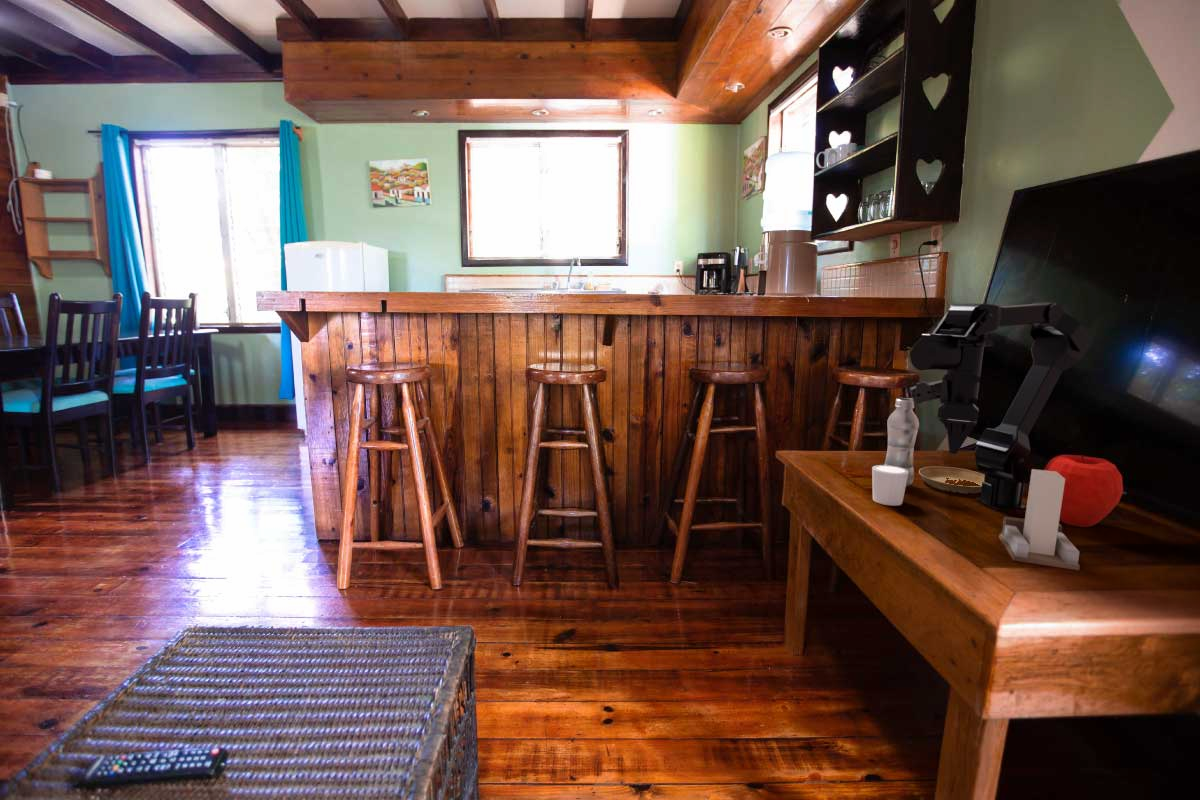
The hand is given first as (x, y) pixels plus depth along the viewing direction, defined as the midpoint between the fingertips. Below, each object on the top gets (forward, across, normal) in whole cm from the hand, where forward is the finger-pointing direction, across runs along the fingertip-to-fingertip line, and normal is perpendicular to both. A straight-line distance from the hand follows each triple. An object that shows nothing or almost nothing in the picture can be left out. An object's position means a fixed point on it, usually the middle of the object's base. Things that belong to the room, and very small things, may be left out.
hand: (953, 448), depth 112 cm
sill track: (+13, +13, +14) cm, 23 cm away
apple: (+13, -7, +21) cm, 26 cm away
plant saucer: (+13, -21, +1) cm, 25 cm away
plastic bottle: (+13, -14, -10) cm, 22 cm away
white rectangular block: (+12, +14, +14) cm, 23 cm away
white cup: (+13, -1, -11) cm, 17 cm away
